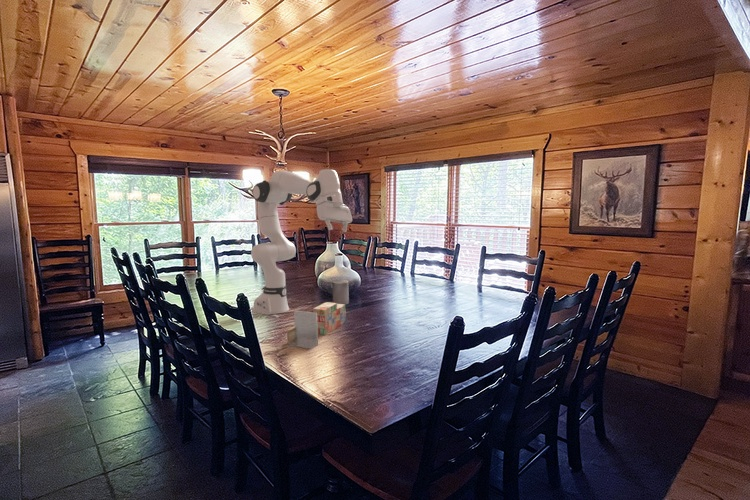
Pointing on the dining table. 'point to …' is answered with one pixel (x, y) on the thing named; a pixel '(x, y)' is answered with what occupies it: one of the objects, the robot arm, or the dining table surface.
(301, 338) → the bookend
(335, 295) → the pillar candle
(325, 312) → the stack of blocks
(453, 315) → the dining table surface
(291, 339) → the back rail
